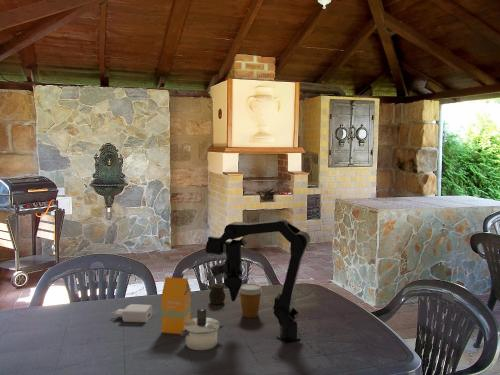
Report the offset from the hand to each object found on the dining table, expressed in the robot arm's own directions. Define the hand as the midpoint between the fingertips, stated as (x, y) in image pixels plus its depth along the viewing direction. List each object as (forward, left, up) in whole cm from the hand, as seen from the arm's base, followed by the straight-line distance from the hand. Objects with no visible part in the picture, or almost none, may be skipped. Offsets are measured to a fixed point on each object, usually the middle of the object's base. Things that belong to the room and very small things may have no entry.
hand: (233, 297), depth 170 cm
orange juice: (+12, +18, -13) cm, 25 cm away
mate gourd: (+31, -9, -13) cm, 35 cm away
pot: (-4, +15, -13) cm, 20 cm away
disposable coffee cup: (+11, -14, -13) cm, 22 cm away
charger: (+32, +30, -14) cm, 46 cm away
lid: (-4, +15, -7) cm, 17 cm away
